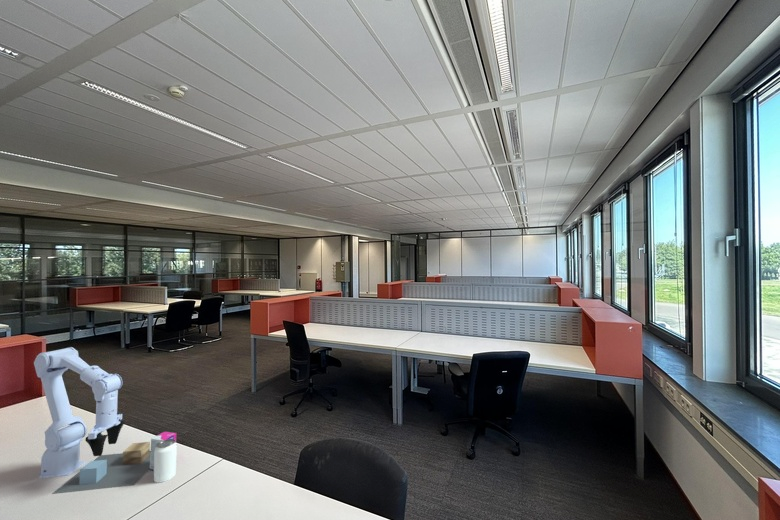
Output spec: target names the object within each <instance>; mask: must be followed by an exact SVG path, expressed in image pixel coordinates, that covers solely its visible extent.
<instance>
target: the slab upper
mask: <svg viewBox="0 0 780 520" xmlns="http://www.w3.org/2000/svg"><path fill="white" fill-rule="evenodd" d="M148 449H150V450H151V441H144V442H133V443H132V444H130V445H129V446H128V447H127V448H126V449H124V450H123V451H122V453H123V459H125V458H135V457H141V456H142V455H143V454H144V453H145V452H146V451H147V450H148Z"/></svg>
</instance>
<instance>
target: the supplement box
mask: <svg viewBox="0 0 780 520" xmlns="http://www.w3.org/2000/svg"><path fill="white" fill-rule="evenodd" d="M167 439H174V440H175V442H176V443H177V432H170V431H163V432H161V433H159V434H158V435H155V436H154V437H152V438H151V439H150V469H149V470H150V471H154V452H155V448H156V445H157V444H158V443H159V442H161V441H163V440H167Z"/></svg>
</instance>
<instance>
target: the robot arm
mask: <svg viewBox="0 0 780 520" xmlns="http://www.w3.org/2000/svg"><path fill="white" fill-rule="evenodd" d="M33 365H34V368H35V373H36V376H37V378H40V381H41V384H42V389H43V391H44V395H45V398H46V404H47V406H48V410H49V414H50V417H51V421H52V423H51V425H50V426H48V428H47V429H46V430H45V431H44V446H45V447H46V450H44V452H43V454H42V456H41V458H40V459H41V460H40V463H41V464H40V475H39V476H38V479H46V478H57V477H67V476H70V475H72V474H73V473H75V472H76V471H77V470H78V469H79V468H82V466H84V465H86V464H87V463H86V462H87V461H86V460H85V461H80V459H81V457H80V455H81V454H80V453H81V442H82V441H83V438H85V439H84V441H85V442H86V443H87V444H88V445H89V447H90V449H91V452H92V455H93V457H99V456H101V455H103V452H104V446H105V442H106V440H107V443H108V445H115V444H117V441H118V439H119V436H120V433H121V430H122V428H123V426H124V425H125V423H126V422H125V420H123V413H119V414H118V395H119V390H120V389H121V388H122V386H123V378H122V377H121V375H119V374H118V373H108V371H105V370H104V369H102V368H101V367H100V366H98V365H89V364H88V363H87V362H86V361H84V360H83V359H82V358H81V357H80V356H79V351H78V350H77V349H76V348H74V347H72V346H69V347H66V348H61V349H56V350H51V351H45V352H40V353H39V354H38V355H36V357H35V359H34V361H33ZM68 369H69V370H71V371H73V372H75V373H77V374H78V375H79V380H81V381H82V382H84V383H85V384H87V385H88V386H89V387H91V390H92V393H93V395H94V401H96V402H95V403H96V404H95V425H94V426H93V428H92V429H91V431H90V432H89V433H87V432H88V426H87V424H86V423H85V422H84V420H83V417H81V416H77V415H73V411H72V407H71V404H70V401H69V397H68V394H67V393H68V392H67V390H66V386H65V382H64V380H63V379H64V378H63V374H64V372H66V371H68ZM105 430H106V434H102V433H103V432H105Z"/></svg>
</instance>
